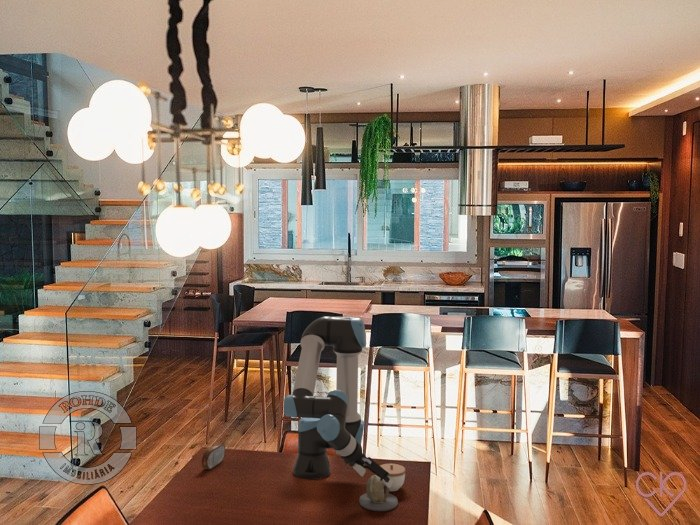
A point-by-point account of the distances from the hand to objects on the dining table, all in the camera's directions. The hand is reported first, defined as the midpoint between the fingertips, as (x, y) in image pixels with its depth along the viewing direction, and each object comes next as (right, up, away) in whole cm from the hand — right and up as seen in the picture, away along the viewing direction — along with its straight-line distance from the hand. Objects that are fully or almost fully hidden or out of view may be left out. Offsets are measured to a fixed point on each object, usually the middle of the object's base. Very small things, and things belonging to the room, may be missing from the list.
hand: (376, 478), depth 238 cm
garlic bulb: (+1, -8, +2) cm, 9 cm away
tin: (-66, -6, +35) cm, 75 cm away
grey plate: (+1, -9, +2) cm, 10 cm away
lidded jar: (+6, -9, +16) cm, 19 cm away
